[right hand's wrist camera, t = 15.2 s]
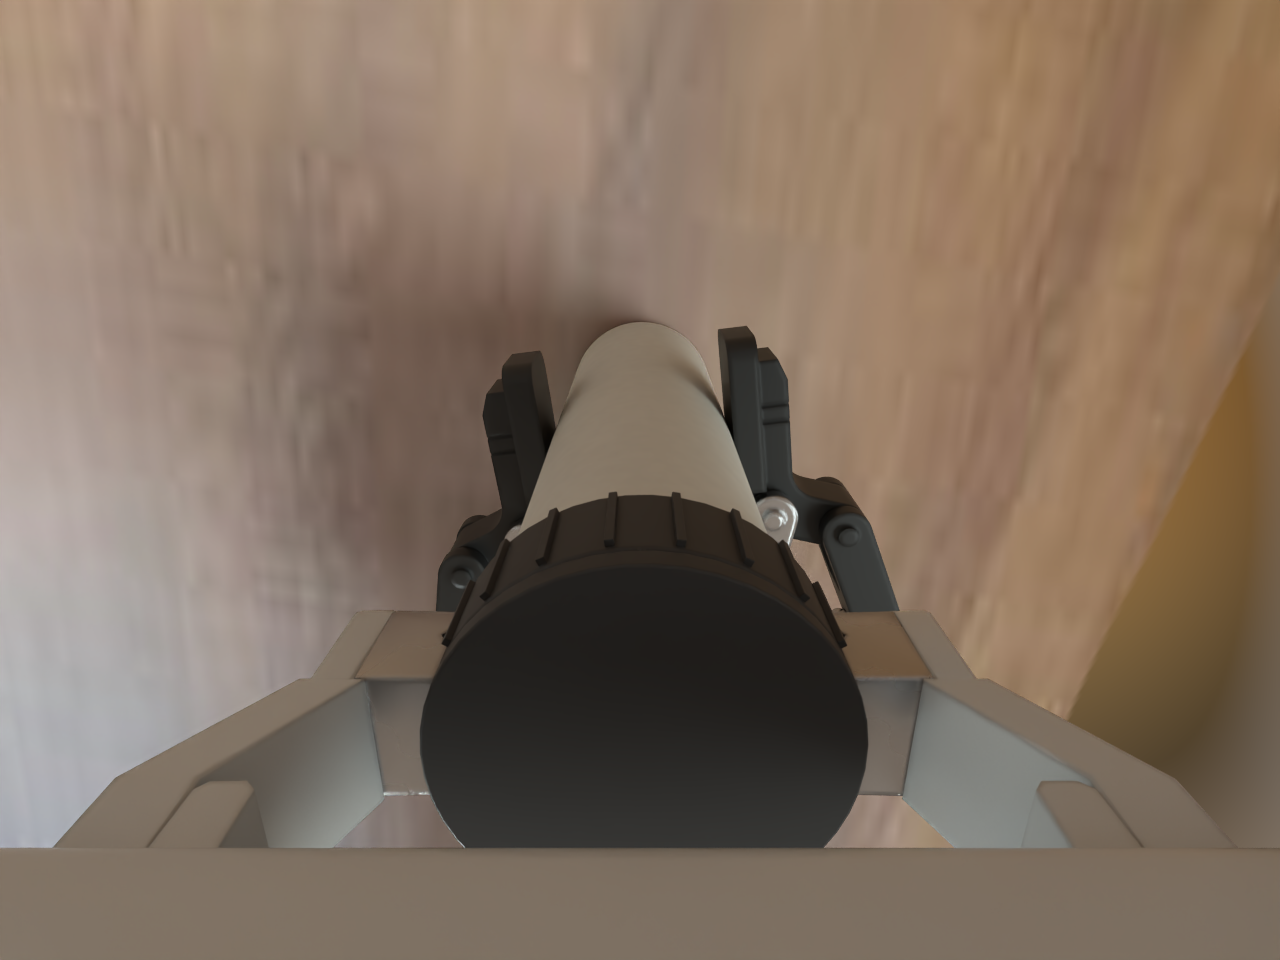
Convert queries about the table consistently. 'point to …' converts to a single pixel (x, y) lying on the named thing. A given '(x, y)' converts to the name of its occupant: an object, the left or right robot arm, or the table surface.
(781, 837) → the lid
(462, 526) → the left robot arm
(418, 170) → the table surface
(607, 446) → the jar
